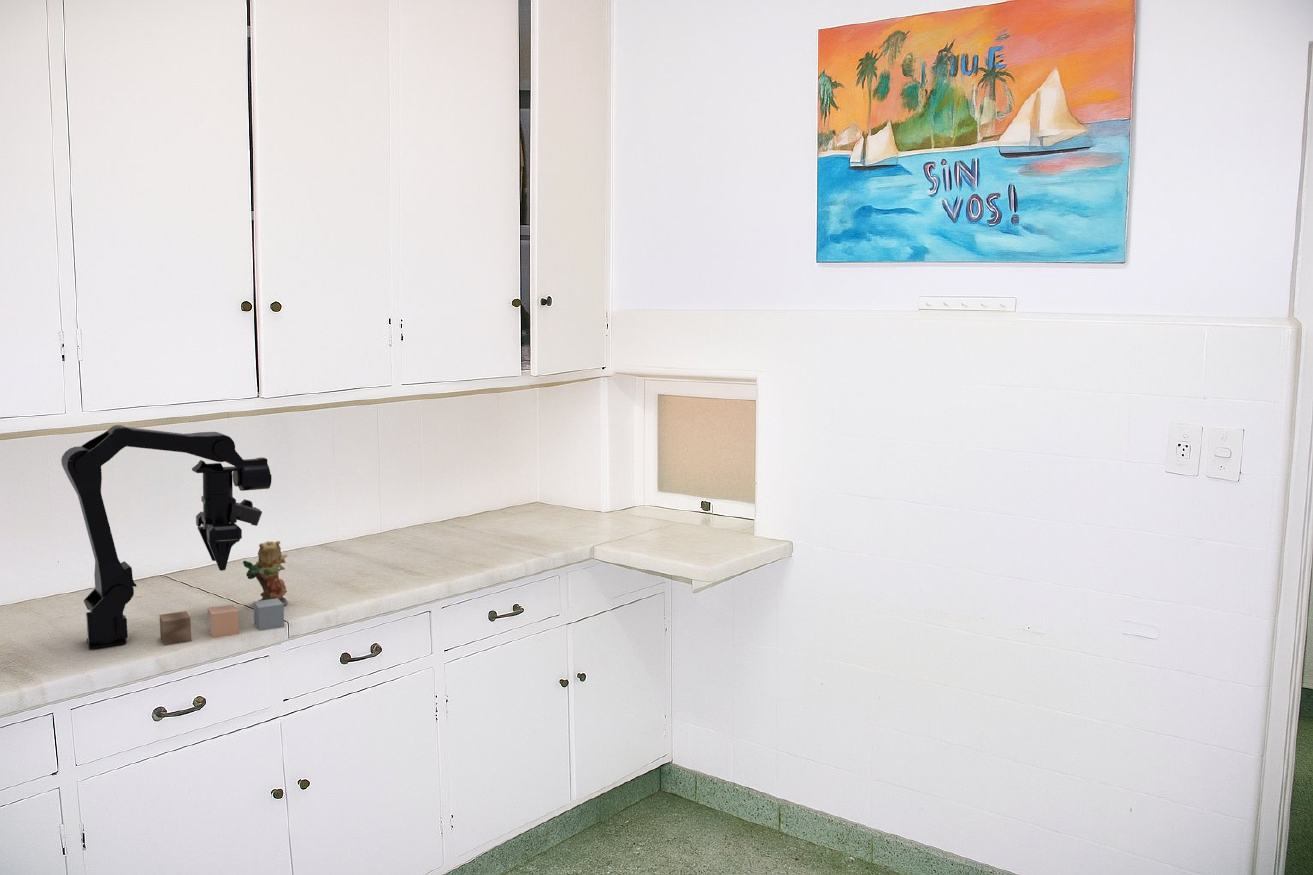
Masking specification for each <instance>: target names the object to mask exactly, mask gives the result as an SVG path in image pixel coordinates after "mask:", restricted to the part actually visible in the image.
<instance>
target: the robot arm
mask: <svg viewBox="0 0 1313 875" xmlns="http://www.w3.org/2000/svg"><path fill="white" fill-rule="evenodd" d="M126 447H129V448H139V449H149V450H156V451H165V452H166V451H168V452H175V453H176V452H177V453H185V454H188V455H192V456H195V457H199V458H202V459H206V460H209V461H213V463H206V462H205V461H204V460H202V459H200V460H199V461H198V462H197V464H196V465H194V466H193V467H192V468H191V470H192V472H194V473H196V474H202V495H201V497H200V499H201V503H202V505H203V506H202V508H203V509H202V510H203V511H199V513H198V514H196V515H195V525H196V526H197V530H198V532H199V535H200V537H201V539H202V541H203V544H204V546H205V547H206V550H207V553H208V555H209V556H210V558H211V561H213V562H215V563H216V565H217V568H218V570H219V571H221V572H222V571H226V569H227V566H228V565H227V564H228V562H229V557H230V554H231V550H232V548H233V546H234V545H235V544H237V543H239V542H240V541H241V539H242V538H243V536H242V535H243V532H242V531H243V530H242V528H241V527H240V526H239V525H237V522H238V521H240V522H244V523H248V524H250V525H251V526H255V527H257V526H258V525H259V522H260V520H261V516H262V514H263V511H262V510H260V508H257V507H255V506H254V505H253V501H252V500H249V499H245V498H244V499H243V500H242V501H241V502H237V499H236V498H235V497H234V496H233V494H234V493H233V485H234V487H238V489H239V491H241V492H244V491H245V492H246V491H258V490H259V491H260V490H269V489H271V488H270V487H271V486H272V480H273V479H272V474H271V470H270V467H269V464H268V458H266V457H255V458H246V459H245V458H244V459H243V457H242V456H241V455H240V454H239V452H238V451H237V450H236V444H235V441H234V440H233V439H232V438H231V437H230V436H228V435H226V434H224V433H221V432H217V431H202V432H200V431H199V432H198V431H197V432H192V433H180V432H179V433H178V432H171V431H164V430H163V431H162V430H153V429H147V428H137V427H129V426H124V425H121V424H116V425H112V426H111V427H110V428H108V429H107V430H106V431H104V432H103V433H101V434H99V435H97V436H94V438H92V439H89V441H86V442H85V443H84V444H82V445H78V446H73V447H70V448H68V449H67V450H66V451H65V452H64V453H63V455H62V456H61V466H62V468H63V471H64V473H65V475H66V476H67V479H68V481H69V483H70V484H71V486H72V488H73V489H74V491H75V493H76V495H77V498H78V501H79V506H80V509H81V512H82V517H83V520H84V524H85V528H86V531H87V535H88V539H89V543H90V546H91V550H92V554H93V558H94V576H93V577H94V589H92V591H91V592H90V593H89V594H88V595H87V596H86V597H85V598H84V599H83V603H84V606H85V607H86V610H88V611H87V612H86V614H85V616H86V617H85V618H86V631H87V638H86V643H87V647H88V649H89V650H93V649H101V648H106V647H107V648H108V647H113V646H119V645H120V646H121V645H126V644H127V640H126V639H128V637H129V635H128V621H127V620H128V618H127V616H126V615H124V610H125V608H126V605H127V604H128V603H129V602H130V601H131V599H132V598H133V597H134V594H135V591H134V589H135V588H134V587H137V583H135V581H134V578H133V569H132V566H130V564H129V563H127V562H126V561H122V562H121V561H120V559H119V558H118V554H117V549H116V545H115V541H114V538H113V534H112V529H111V526H110V523H109V518H108V514H107V511H106V507H105V503H104V499H103V496H102V484H103V483H102V482H103V481H102V480H103V476H102V473H103V472H102V466H104V465H105V464H107V462H109V461H110V460H111V459H113V458H114V457H115V456H116V455H117V454H118V453H119V452H120V451H121V450H123V449H125V448H126ZM224 462H225V463H226V464H229V465H231V466H223V464H222V463H224Z"/></svg>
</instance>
